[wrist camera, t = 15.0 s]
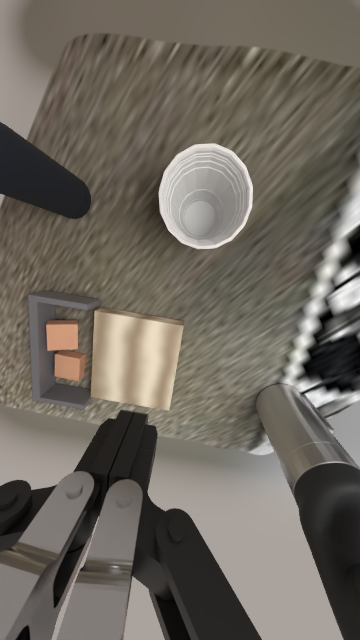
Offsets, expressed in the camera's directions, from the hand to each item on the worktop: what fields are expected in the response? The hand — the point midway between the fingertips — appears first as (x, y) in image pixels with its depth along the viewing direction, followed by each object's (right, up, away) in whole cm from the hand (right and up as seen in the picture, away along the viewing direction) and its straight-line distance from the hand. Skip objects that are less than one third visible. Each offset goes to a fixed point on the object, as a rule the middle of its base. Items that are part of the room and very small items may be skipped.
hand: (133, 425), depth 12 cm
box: (-19, +1, +31) cm, 37 cm away
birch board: (-6, -2, +31) cm, 32 cm away
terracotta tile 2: (-20, -4, +30) cm, 36 cm away
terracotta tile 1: (-19, +3, +27) cm, 33 cm away
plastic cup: (+6, +23, +24) cm, 34 cm away
